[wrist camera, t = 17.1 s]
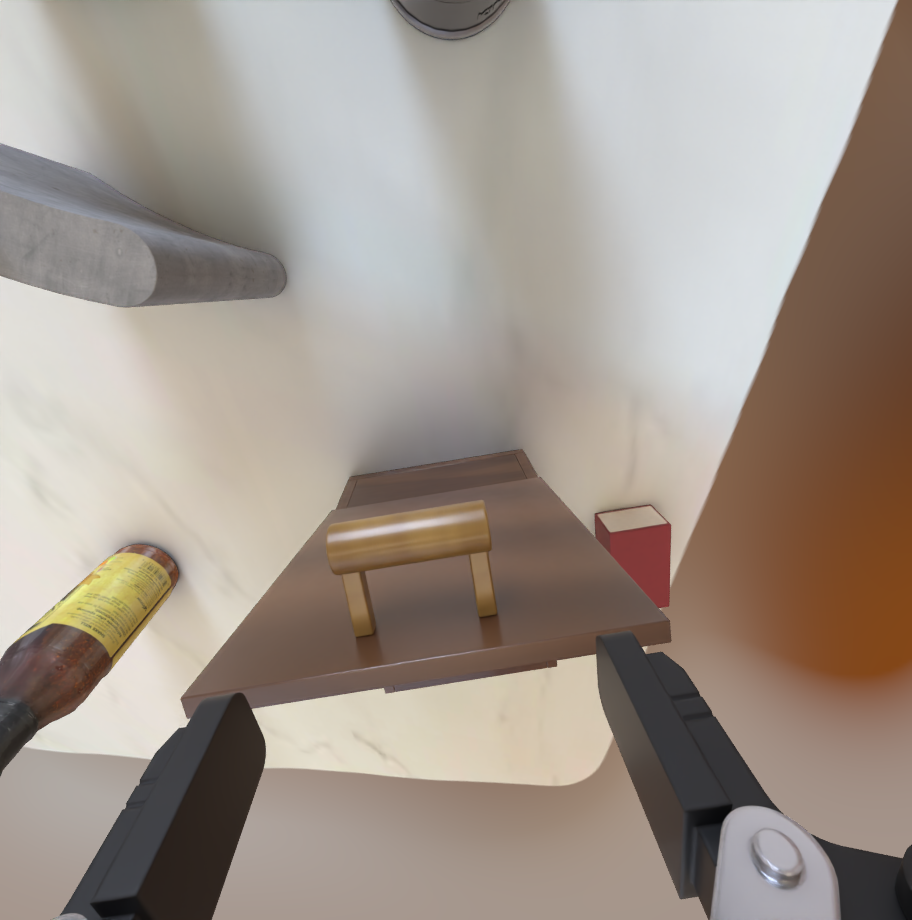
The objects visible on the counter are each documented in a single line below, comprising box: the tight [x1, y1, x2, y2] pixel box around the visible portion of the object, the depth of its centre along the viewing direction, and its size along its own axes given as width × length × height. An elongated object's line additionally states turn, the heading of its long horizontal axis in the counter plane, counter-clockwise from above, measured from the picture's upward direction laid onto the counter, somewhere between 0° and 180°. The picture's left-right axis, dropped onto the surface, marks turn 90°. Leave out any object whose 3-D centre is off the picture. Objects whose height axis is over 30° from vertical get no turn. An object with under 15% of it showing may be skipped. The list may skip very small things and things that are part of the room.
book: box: [595, 505, 671, 608], centre depth 43 cm, size 9×6×4 cm, turn 9°
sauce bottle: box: [0, 544, 178, 776], centre depth 34 cm, size 6×6×20 cm
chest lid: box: [181, 477, 671, 719], centre depth 24 cm, size 20×16×5 cm
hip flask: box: [0, 143, 286, 307], centre depth 24 cm, size 16×4×20 cm, turn 66°
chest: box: [336, 449, 557, 693], centre depth 41 cm, size 19×16×7 cm
